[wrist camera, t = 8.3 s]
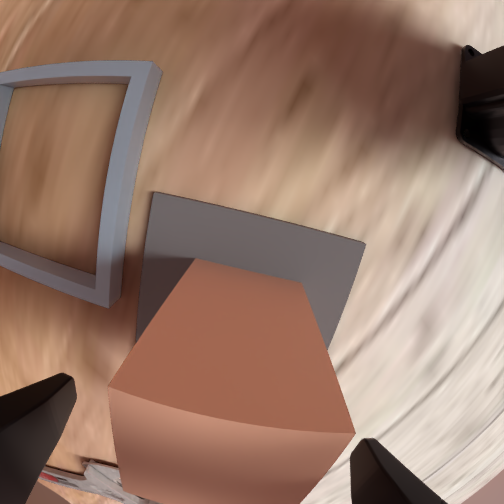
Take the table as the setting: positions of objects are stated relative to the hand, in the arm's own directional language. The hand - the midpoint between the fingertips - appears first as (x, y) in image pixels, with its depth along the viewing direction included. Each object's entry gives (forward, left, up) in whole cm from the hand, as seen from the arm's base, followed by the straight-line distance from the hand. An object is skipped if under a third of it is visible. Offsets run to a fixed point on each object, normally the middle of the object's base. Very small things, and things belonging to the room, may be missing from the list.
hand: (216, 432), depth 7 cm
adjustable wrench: (+13, +27, -8) cm, 31 cm away
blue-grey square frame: (+12, -5, -8) cm, 15 cm away
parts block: (0, 0, -7) cm, 7 cm away
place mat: (0, 0, -8) cm, 8 cm away
